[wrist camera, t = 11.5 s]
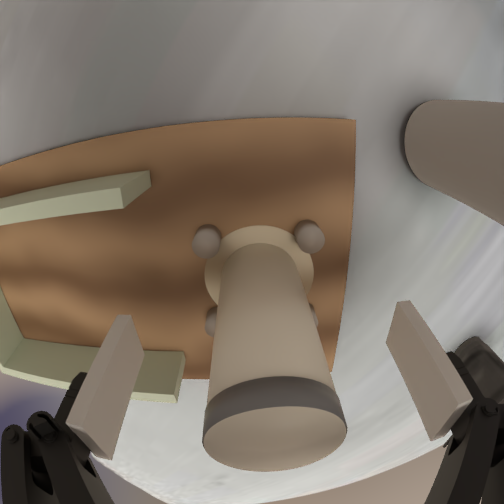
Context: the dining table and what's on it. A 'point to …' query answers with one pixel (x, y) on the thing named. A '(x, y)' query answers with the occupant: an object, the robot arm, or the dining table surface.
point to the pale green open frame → (73, 356)
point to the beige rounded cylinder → (268, 369)
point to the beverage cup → (483, 368)
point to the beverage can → (460, 151)
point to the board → (181, 230)
